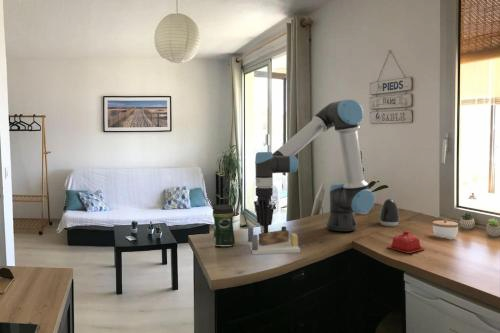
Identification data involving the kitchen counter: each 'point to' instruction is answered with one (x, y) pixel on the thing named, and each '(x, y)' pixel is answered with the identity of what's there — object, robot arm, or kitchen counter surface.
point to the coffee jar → (223, 225)
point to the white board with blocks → (272, 245)
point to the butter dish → (406, 243)
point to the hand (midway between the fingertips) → (264, 239)
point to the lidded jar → (445, 229)
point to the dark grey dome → (389, 213)
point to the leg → (274, 237)
